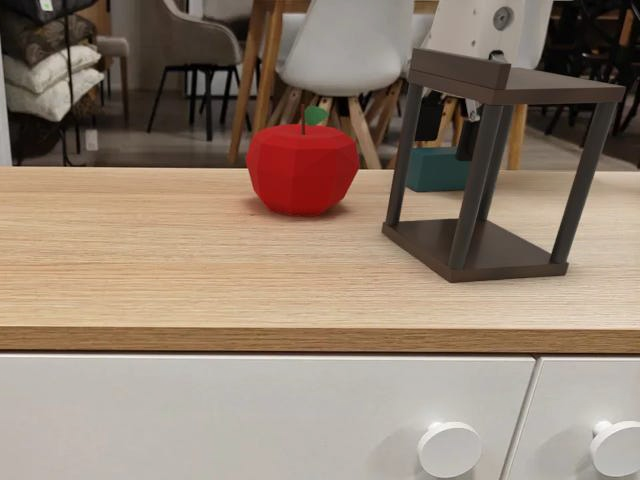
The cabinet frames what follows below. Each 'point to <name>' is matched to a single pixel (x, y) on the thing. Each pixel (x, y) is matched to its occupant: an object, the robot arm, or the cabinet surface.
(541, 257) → the rack
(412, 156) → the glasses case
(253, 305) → the cabinet surface
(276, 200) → the apple
